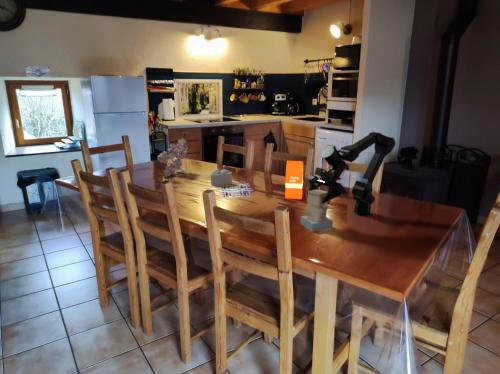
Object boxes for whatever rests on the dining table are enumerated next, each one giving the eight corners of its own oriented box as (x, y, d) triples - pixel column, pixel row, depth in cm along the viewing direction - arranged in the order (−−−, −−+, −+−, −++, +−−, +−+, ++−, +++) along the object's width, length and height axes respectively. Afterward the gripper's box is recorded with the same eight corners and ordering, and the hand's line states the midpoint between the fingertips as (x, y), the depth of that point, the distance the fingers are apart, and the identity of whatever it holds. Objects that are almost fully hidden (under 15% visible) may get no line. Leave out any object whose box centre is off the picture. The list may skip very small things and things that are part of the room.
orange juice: (301, 199, 198) (302, 162, 192) (285, 198, 199) (285, 162, 194) (302, 194, 205) (303, 159, 200) (286, 194, 207) (287, 159, 201)
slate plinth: (319, 221, 167) (320, 213, 166) (332, 229, 158) (332, 220, 157) (300, 224, 164) (300, 216, 162) (312, 232, 155) (312, 223, 153)
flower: (155, 168, 263) (152, 140, 246) (185, 162, 271) (184, 134, 255) (162, 186, 250) (160, 157, 233) (194, 179, 258) (194, 151, 242)
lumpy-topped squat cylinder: (234, 184, 228) (233, 170, 226) (216, 187, 221) (215, 173, 218) (225, 180, 236) (224, 167, 234) (207, 184, 229) (207, 170, 227)
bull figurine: (314, 206, 186) (315, 191, 183) (303, 198, 198) (304, 184, 196) (322, 205, 187) (323, 190, 184) (311, 198, 199) (311, 183, 197)
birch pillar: (315, 214, 164) (316, 189, 161) (326, 218, 159) (328, 192, 156) (306, 217, 160) (308, 191, 157) (317, 221, 156) (319, 194, 152)
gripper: (311, 156, 162) (291, 184, 160) (342, 164, 147) (320, 195, 145) (323, 171, 169) (304, 198, 166) (354, 180, 153) (334, 210, 151)
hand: (314, 200), depth 157 cm, fingers open, 9 cm apart
